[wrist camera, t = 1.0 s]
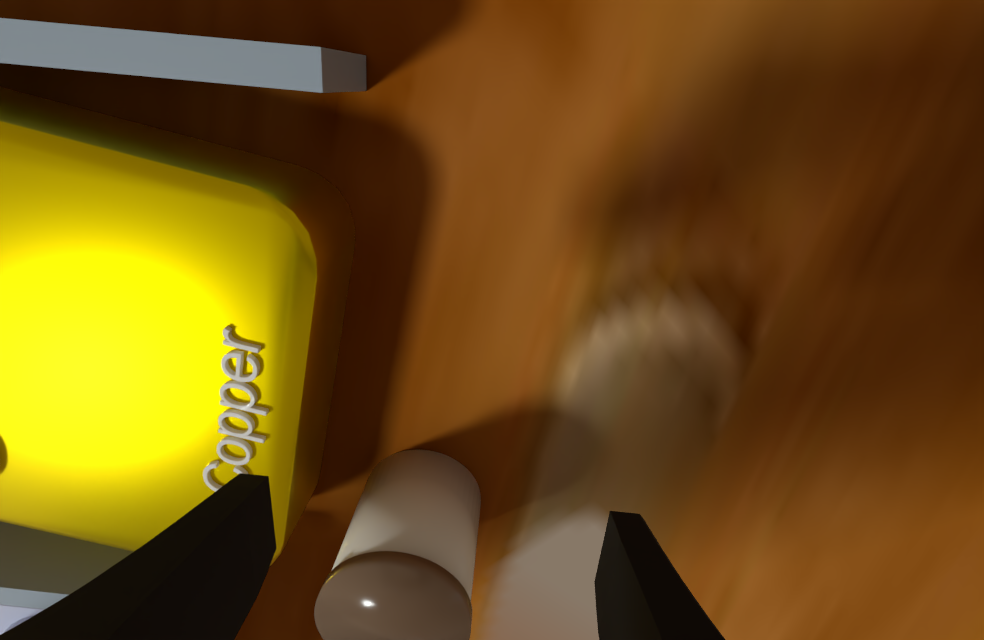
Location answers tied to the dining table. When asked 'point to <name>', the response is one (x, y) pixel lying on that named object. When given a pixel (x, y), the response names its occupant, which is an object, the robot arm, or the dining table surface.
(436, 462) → the jar
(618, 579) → the robot arm
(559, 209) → the dining table surface
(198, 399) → the element tile
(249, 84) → the gray tray
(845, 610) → the dining table surface
